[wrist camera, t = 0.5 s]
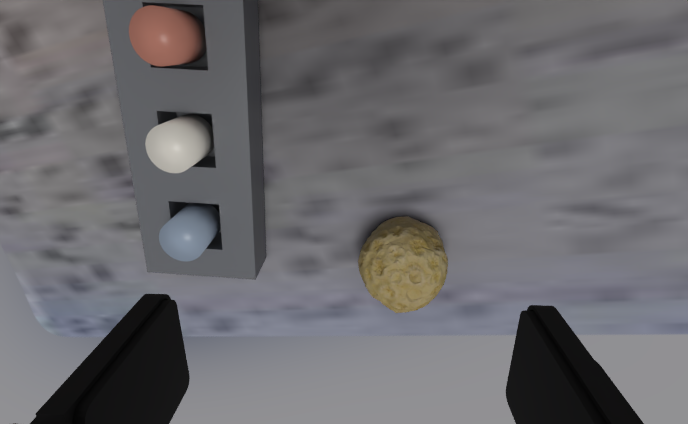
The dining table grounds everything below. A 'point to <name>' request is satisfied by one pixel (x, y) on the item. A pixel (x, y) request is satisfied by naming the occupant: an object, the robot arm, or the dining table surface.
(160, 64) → the brown egg
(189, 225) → the light blue rounded cylinder
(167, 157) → the white rounded oval piece
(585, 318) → the dining table surface
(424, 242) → the rock
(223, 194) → the grey rectangular block
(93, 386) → the robot arm
